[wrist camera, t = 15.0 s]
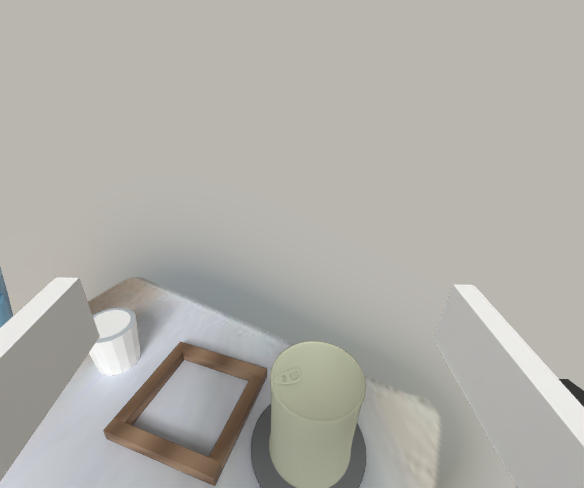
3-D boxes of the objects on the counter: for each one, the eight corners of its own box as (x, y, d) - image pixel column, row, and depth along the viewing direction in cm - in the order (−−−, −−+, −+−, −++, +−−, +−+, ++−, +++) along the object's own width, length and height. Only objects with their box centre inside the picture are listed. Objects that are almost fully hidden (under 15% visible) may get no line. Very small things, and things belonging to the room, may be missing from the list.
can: (266, 410, 39) (266, 340, 33) (337, 402, 40) (350, 333, 34) (272, 498, 31) (274, 426, 25) (362, 484, 32) (383, 413, 26)
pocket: (106, 438, 35) (103, 430, 35) (181, 349, 47) (180, 341, 46) (214, 486, 32) (213, 478, 31) (266, 376, 44) (266, 368, 43)
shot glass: (102, 344, 47) (89, 308, 44) (149, 339, 49) (141, 304, 45) (84, 382, 42) (68, 345, 38) (139, 376, 43) (128, 339, 39)
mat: (230, 486, 32) (229, 483, 32) (275, 382, 43) (275, 379, 42) (356, 541, 29) (357, 538, 28) (371, 413, 39) (371, 410, 39)
